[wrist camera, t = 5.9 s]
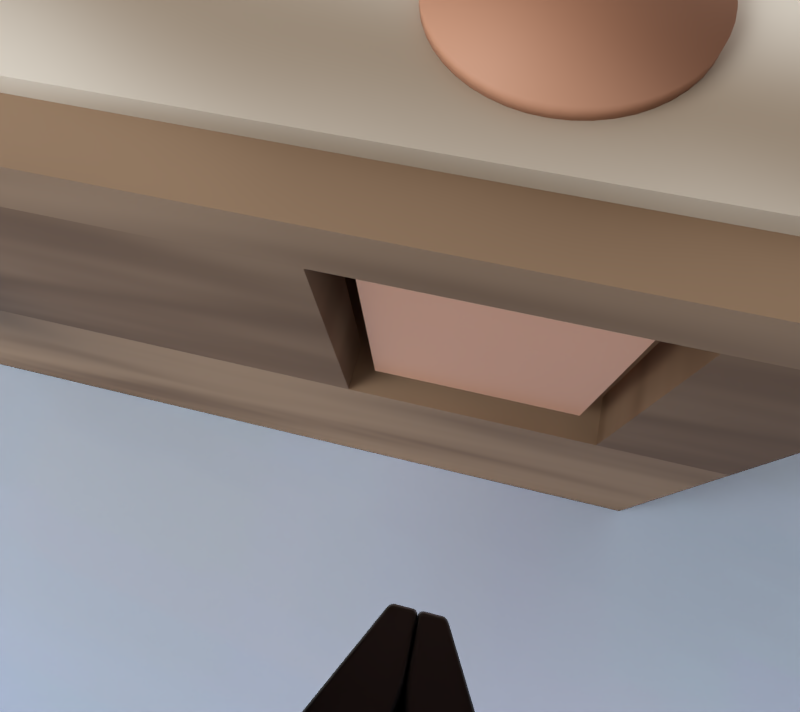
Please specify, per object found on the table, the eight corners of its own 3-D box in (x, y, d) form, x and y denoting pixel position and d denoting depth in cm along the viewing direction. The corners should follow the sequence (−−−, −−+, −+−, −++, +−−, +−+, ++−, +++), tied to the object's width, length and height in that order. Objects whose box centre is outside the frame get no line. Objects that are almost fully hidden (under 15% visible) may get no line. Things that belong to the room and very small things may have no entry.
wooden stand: (618, 510, 17) (1111, 353, 5) (-98, 340, 20) (-922, -34, 8) (642, 301, 19) (1013, -155, 7) (-1, 174, 22) (-514, -316, 10)
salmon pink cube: (579, 415, 11) (661, 334, 7) (375, 370, 11) (353, 271, 8) (604, 237, 12) (685, 91, 9) (420, 203, 13) (421, 49, 9)
